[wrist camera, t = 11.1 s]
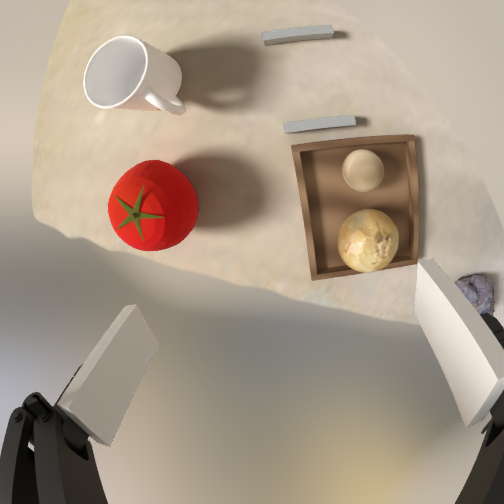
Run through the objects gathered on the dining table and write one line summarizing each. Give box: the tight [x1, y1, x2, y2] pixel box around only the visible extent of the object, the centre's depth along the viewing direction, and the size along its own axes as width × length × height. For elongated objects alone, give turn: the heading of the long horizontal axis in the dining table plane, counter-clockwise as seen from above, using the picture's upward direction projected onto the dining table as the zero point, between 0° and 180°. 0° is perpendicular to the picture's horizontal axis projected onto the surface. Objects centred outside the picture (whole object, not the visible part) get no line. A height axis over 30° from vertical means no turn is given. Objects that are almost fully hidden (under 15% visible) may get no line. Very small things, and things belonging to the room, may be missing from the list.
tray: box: [291, 135, 419, 281], centre depth 32 cm, size 18×16×2 cm
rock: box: [455, 275, 494, 316], centre depth 33 cm, size 11×10×10 cm
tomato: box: [108, 160, 199, 251], centre depth 31 cm, size 10×11×11 cm
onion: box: [338, 209, 399, 273], centre depth 31 cm, size 8×8×7 cm
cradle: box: [262, 25, 356, 133], centre depth 26 cm, size 13×8×2 cm, turn 12°
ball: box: [342, 149, 384, 192], centre depth 29 cm, size 5×5×5 cm
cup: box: [84, 35, 186, 115], centre depth 25 cm, size 8×12×10 cm
